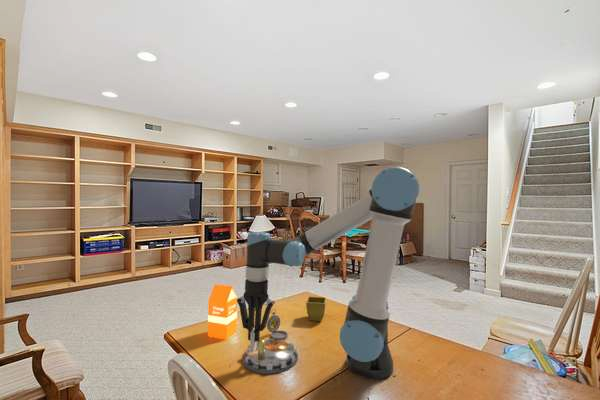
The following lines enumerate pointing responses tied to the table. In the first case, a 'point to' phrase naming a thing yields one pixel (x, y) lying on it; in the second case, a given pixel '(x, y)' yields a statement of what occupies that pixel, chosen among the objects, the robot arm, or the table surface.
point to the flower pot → (315, 308)
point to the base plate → (273, 371)
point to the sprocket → (271, 354)
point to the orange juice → (222, 312)
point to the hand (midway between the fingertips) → (253, 350)
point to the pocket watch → (275, 327)
